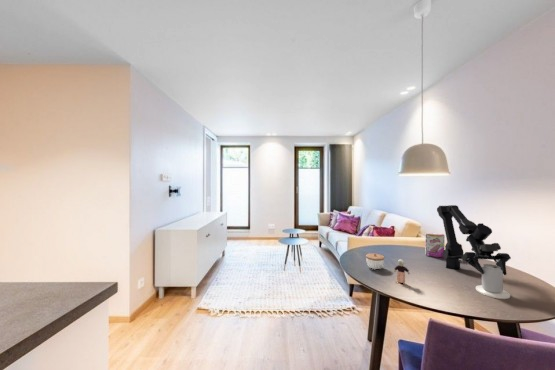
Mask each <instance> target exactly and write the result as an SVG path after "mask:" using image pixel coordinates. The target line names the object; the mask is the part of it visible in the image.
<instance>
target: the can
mask: <svg viewBox="0 0 555 370" xmlns="http://www.w3.org/2000/svg"><path fill="white" fill-rule="evenodd" d="M481 267H482V269H483V271H484V274H482V273H481V285H482V288H483V289H484V290H486V291H488V292H491V293H501V292H503V290H504V274H503V271H502V270H501V267H499V266H497V265H496V264H490V263H485V264H483V265H482V266H481Z"/></svg>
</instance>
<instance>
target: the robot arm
mask: <svg viewBox="0 0 555 370" xmlns="http://www.w3.org/2000/svg"><path fill="white" fill-rule="evenodd" d="M436 211H437V212H436V213H437V214H438V216H439V217H440V218H441V220H442V223H443V227H444V233H445V238H446V243H445V245H444V252H443V256H444V258H445V262H446V263H445V268H446V269H450V270H458V271H459V270H460V269H461V261H460V260H462V262H464V263H466V264H469V266H471V267H473V268H474V269H475V270H476V271H478V272H479V273H480V274H481V275H482V274H484V271H483V269H482V267H483V266H481V264H480V262H479V260H493V262H494V263H495V265H496V266H499V267H501V270H502V271H503V276H507V274H508V273H507V268H506V267H507V265H506V263H507V262H508V261H510V260H511V259H512V258H511V256H510V254H509V253H507V252H506V253H505V252H498V251H500V250H501V249H502V247H501V245H500V244H499V243H498V242H494V243H486V242H485V240H486V239H487V238H489V237H490V235H491V234H493V230H492V228H491V227H489V226H488V225H485V224H484V223H481V222H480V223H479V222H478V224H476V223H475V222H474V221H472V220H469V219H468V218H467V217H466V216H465V214H464V213H463V212H462V210H460V207H459V206H458V205H456V204H455V205H454V204H451V205H438V207H437V208H436ZM453 218H454V219H455V221H456V222H457V223H458V225H459V226H458V229H459V232H461V234H462V235H467V236H466V238H465V242H469V245H470V246H471V251H469V252H468V251H465V252H464V249H463V245H462V244H461V243H459V242H458V241H457V237H456V236H457V235H456V231H455V227H454V226H455V225H454V223H453ZM494 252H498V253H497V254H494ZM493 254H494V255H493Z"/></svg>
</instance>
